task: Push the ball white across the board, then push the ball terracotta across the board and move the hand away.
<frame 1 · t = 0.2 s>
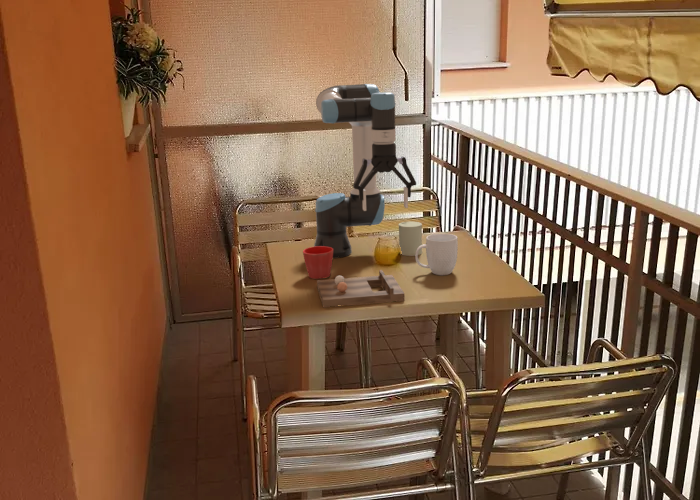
hand: (385, 208, 234), 28 cm above the table, fingers open, 13 cm apart
flower pot: (319, 276, 259), on the table
ball terracotta: (342, 286, 233), point 4 cm above the table, touching board
mug: (438, 273, 257), on the table
can: (410, 253, 284), on the table
ball white: (339, 280, 240), point 4 cm above the table, touching board
board: (359, 293, 238), on the table
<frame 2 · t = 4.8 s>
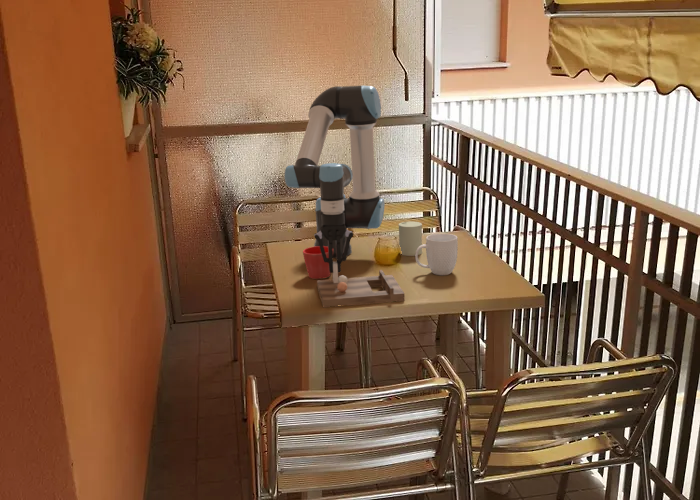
hand: (335, 281, 240), 4 cm above the table, fingers closed
ball white: (342, 280, 240), point 4 cm above the table, tilted 32°, touching board, gripper
everything else where it was.
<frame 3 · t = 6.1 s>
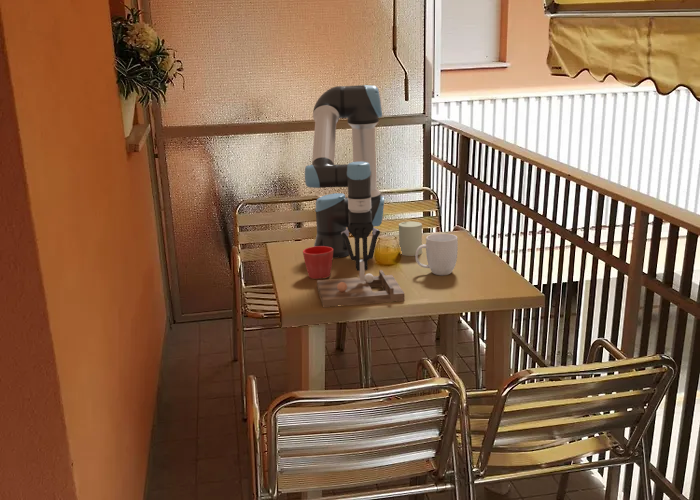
hand: (362, 279, 241), 4 cm above the table, fingers closed
ball white: (369, 278, 241), point 4 cm above the table, tilted 59°, touching board
everything else where it was.
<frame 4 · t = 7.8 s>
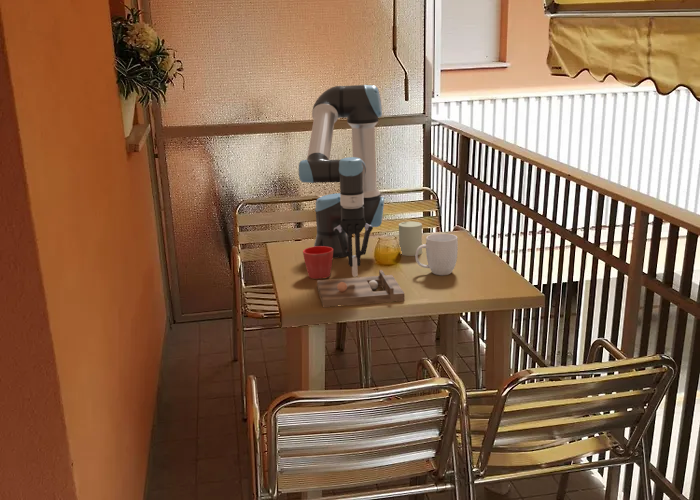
hand: (354, 275, 241), 5 cm above the table, fingers closed
ball white: (373, 285, 242), point 2 cm above the table, tilted 16°
everything else where it was.
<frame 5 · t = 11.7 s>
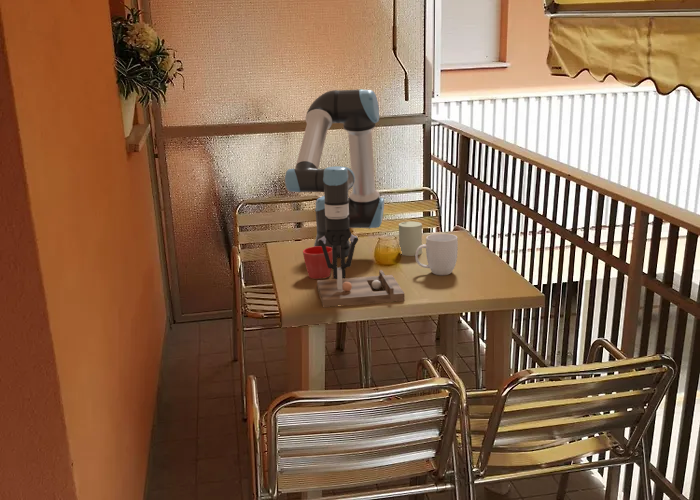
hand: (339, 288, 233), 4 cm above the table, fingers closed
ball terracotta: (346, 286, 233), point 4 cm above the table, tilted 48°, touching board, gripper
ball white: (376, 284, 242), point 2 cm above the table, tilted 57°
everything else where it was.
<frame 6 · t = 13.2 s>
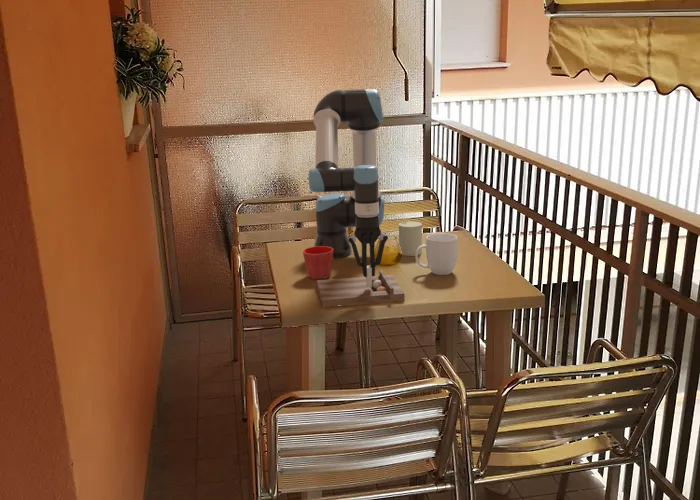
hand: (369, 285, 234), 4 cm above the table, fingers closed
ball terracotta: (381, 291, 235), point 2 cm above the table, tilted 71°
ball white: (377, 284, 242), point 2 cm above the table, tilted 72°
everything else where it was.
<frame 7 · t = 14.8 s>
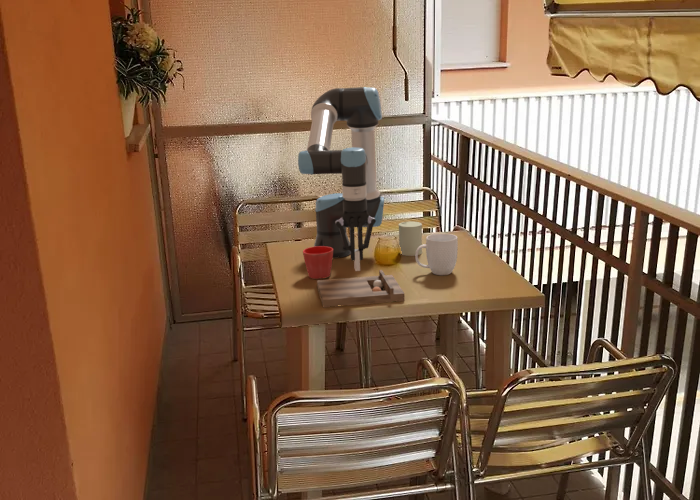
hand: (357, 269, 233), 9 cm above the table, fingers closed
ball terracotta: (376, 291, 235), point 2 cm above the table, tilted 15°
everything else where it was.
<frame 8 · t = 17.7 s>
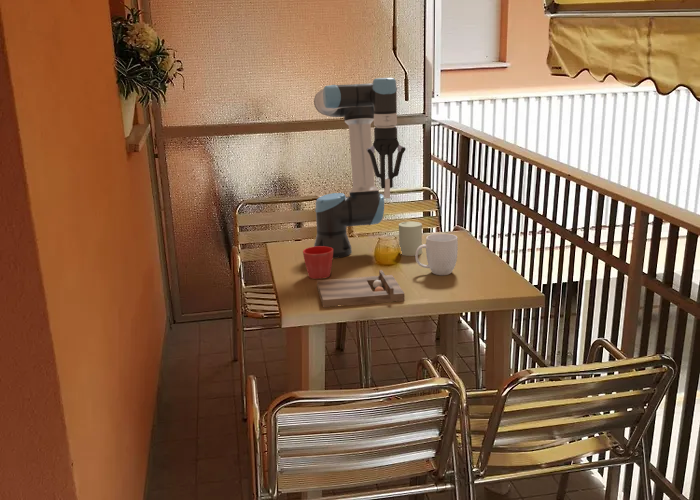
hand: (387, 197, 242), 29 cm above the table, fingers closed
ball terracotta: (379, 291, 235), point 2 cm above the table, tilted 46°
everything else where it was.
at the end: ball white inside the target area on the board (3.4 cm from its centre), point 1.6 cm above the board's base; ball terracotta inside the target area on the board (3.6 cm from its centre), point 1.6 cm above the board's base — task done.
